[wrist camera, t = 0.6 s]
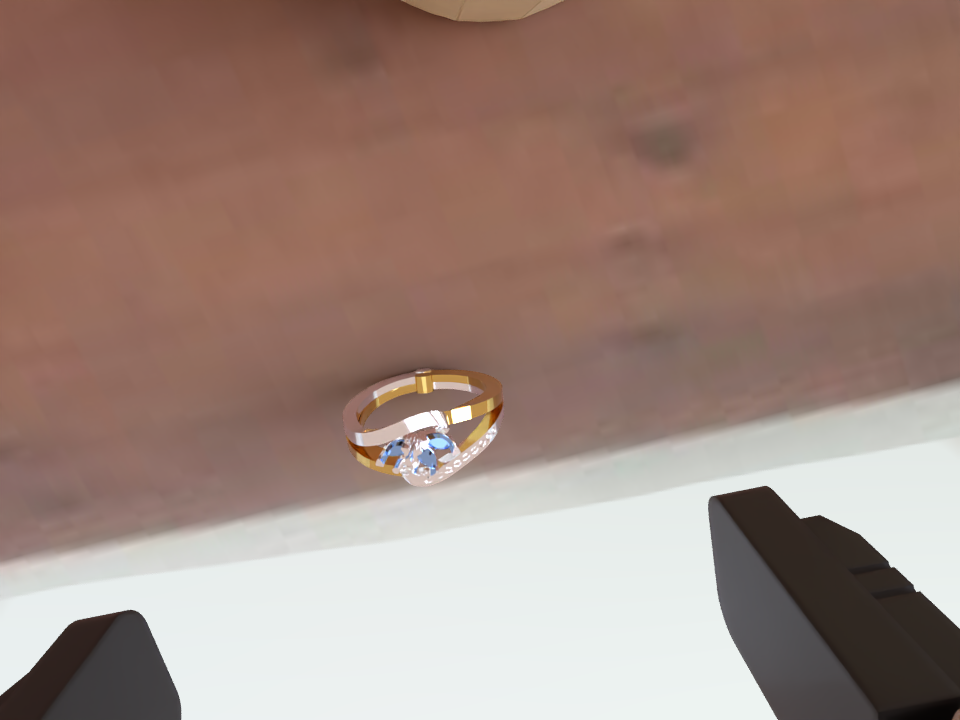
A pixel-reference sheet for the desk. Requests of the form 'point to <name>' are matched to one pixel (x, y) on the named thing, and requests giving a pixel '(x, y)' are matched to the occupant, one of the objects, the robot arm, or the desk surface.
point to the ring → (424, 425)
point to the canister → (483, 8)
